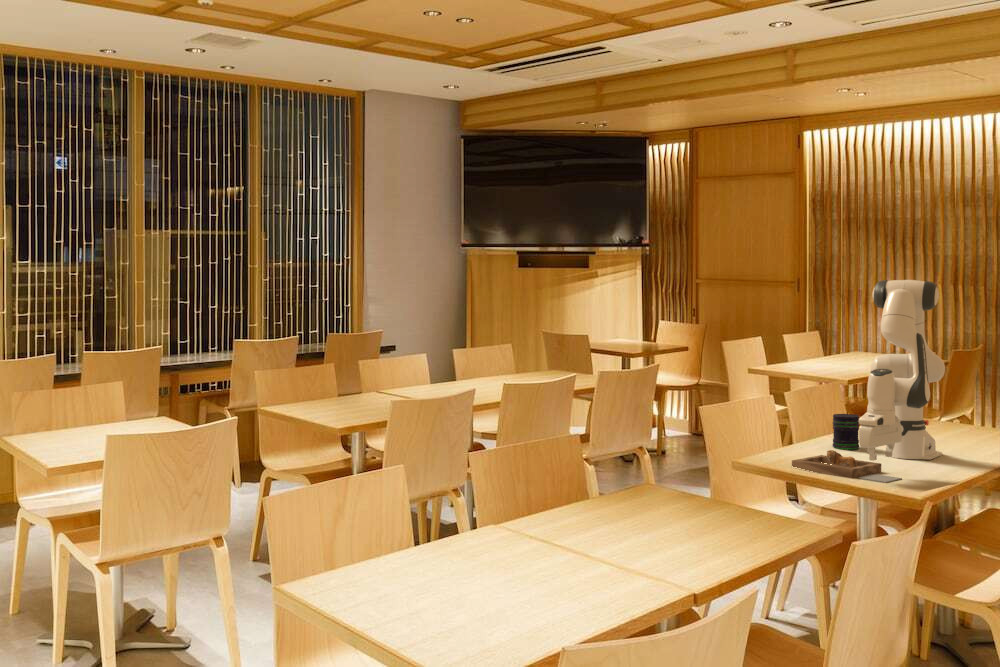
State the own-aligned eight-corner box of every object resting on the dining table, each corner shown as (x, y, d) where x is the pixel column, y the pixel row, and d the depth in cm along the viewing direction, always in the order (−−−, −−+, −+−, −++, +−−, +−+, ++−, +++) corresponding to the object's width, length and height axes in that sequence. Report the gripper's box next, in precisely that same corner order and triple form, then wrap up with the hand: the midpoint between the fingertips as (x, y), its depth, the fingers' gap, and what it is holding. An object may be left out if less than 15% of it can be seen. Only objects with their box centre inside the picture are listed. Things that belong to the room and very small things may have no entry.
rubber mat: (874, 475, 329) (874, 474, 329) (901, 479, 321) (902, 478, 321) (858, 478, 323) (858, 477, 323) (885, 483, 315) (885, 481, 315)
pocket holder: (821, 463, 354) (821, 455, 354) (881, 472, 335) (881, 463, 335) (791, 468, 343) (791, 460, 343) (851, 478, 324) (851, 469, 324)
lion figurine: (825, 470, 338) (825, 450, 338) (827, 469, 342) (827, 448, 342) (860, 473, 332) (860, 452, 332) (862, 471, 336) (863, 451, 336)
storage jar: (862, 455, 371) (863, 416, 370) (837, 455, 371) (837, 416, 371) (853, 451, 381) (854, 413, 380) (829, 451, 381) (829, 413, 380)
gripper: (889, 413, 330) (889, 453, 331) (855, 419, 318) (855, 460, 318) (906, 415, 325) (906, 455, 326) (872, 421, 313) (872, 463, 313)
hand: (881, 458), depth 322 cm, fingers open, 8 cm apart
